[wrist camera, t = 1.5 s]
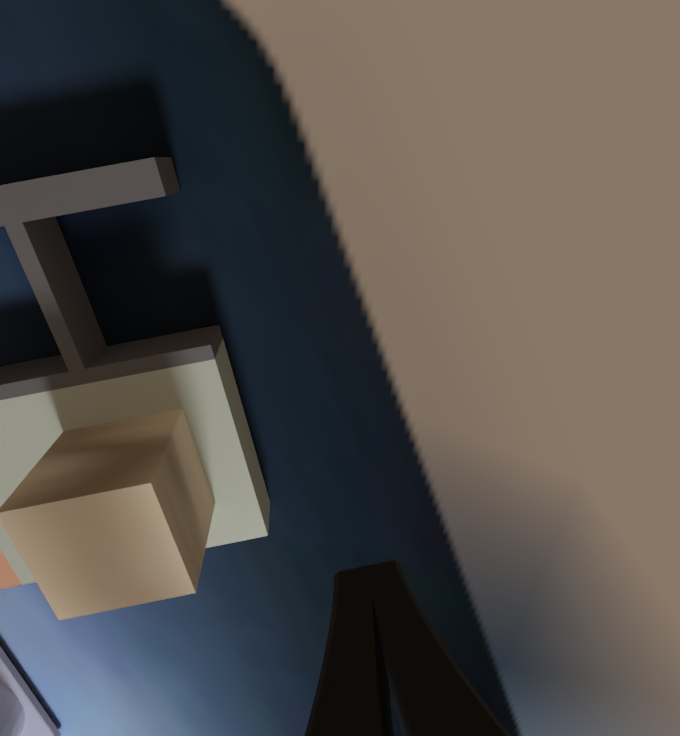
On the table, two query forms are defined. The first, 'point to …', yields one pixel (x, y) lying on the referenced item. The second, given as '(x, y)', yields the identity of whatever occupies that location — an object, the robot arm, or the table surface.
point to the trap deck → (115, 360)
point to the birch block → (114, 515)
